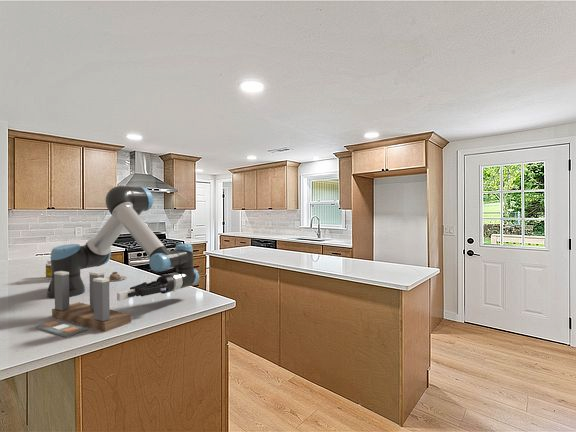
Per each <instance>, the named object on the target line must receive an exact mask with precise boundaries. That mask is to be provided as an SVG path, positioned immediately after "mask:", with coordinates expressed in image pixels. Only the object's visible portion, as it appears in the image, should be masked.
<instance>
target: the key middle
mask: <svg viewBox="0 0 576 432" xmlns="http://www.w3.org/2000/svg"><path fill="white" fill-rule="evenodd" d="M88 274H89V305H90V309H92V310H94V302H93V279H94V278H99V277H101V278H105V272H104V271H98V270H94V271H89V272H88Z"/></svg>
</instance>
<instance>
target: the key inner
mask: <svg viewBox="0 0 576 432" xmlns="http://www.w3.org/2000/svg"><path fill="white" fill-rule="evenodd" d="M54 286H55V298H54V308H55V309H58V310H62V311H63V310H67V309H69V305H70V296H69V272H65V271H57V272H54Z"/></svg>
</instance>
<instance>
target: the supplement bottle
mask: <svg viewBox="0 0 576 432" xmlns="http://www.w3.org/2000/svg"><path fill="white" fill-rule="evenodd" d="M46 261H47V262H46V263H45V278H46V279H51V259H48V260H46Z"/></svg>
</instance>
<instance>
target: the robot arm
mask: <svg viewBox="0 0 576 432" xmlns="http://www.w3.org/2000/svg"><path fill="white" fill-rule="evenodd" d="M153 198H154V197H153V194H152V193H151V191H150V190H149V189H148V188H146V187H142V186H130V185H129V186H128V185H127V186H125V185H118V186H113V187H112V188H111V189H110V190H109V191H108V192H107V193H106V197H105V205H106V208H107V211H108V213H110V215H111V216H110V217H109V218H108V219H107V220H106V222H105V223H104V225H102V227H101V229H100V230H99V231H98V233H97V234H96V236H94V237H92V238H90V239H88V240H87V242H85V244H84V245H80V244H78V243H69V244H63V245H58V246H56V247H53V248H52V249H51V250H50V251H51V252H50V260H51V278H50V279H51V280H50V282H49V286H48V287H47V291H46V296H47V297H49V298H54V299H55V286H54V272H57V271H65V272H69V297H73V296H78V295H81V294H84V293H85V292H86V289H85V285H84V282H83V279H82V276H81V270H84V269H89V268H95V267H100V266H103V265H106V264H107V263H108V262H110V259H111V254H112V248H111V246H112V245H113V244H114V243H115V241H116V240H117V239H118V238H119V236H120V235H121V234H122V232H123V231H124V230H125V229H126V230H127V232H128V233H129V234H130V235H131V236H132V238H133V239H134V240H135V241H136V243H137V244H138V245H139V246H140V248H141V249H142V250H143V251H144V252H145V254H146V255H147V256H148V257H149V259H148V264H149V267H150V269H151V270H152V271H153V272H157V273H158V272H166V271H169V270H171V269H176V272H172V273H168V274H163V275H160V276H158V277H157V279H156V280H153V281H151V282H146V281H144V282H142V283H140V284H137V285H134V286H131V287H129V289H127V290H123V291H119V292H117V293H116V301H119V302H120V301H124V300H127V299H131V298H134V297H142V298H143V297H147V296H151V295H157V294H162V295H163V294H168V293H170V292H176V291H177V290H180V289H183V288H187V287H191V286H194V285H196V284H197V283H198V282H199V280H200V274H199V271H198V270H197V269H196V268H194V252H193V251H194V249H193V248H194V247H193V245H192V244H191V243H183V244H182V243H181V244H176V245H175V248H174V250H169V249H168V248H167V247H166V245H164V244H163V242H162V241H161V240H160V239H159V238H158V236H157V235H156V234H155V233H154V231H153V230H152V229H151V228H150V227H149V226H148V225H147V223H146V222H145V221H144V219H143V218H142V217H141V214H142V212H147V211H150V210H151V209H152V207H153V204H154V199H153Z"/></svg>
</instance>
